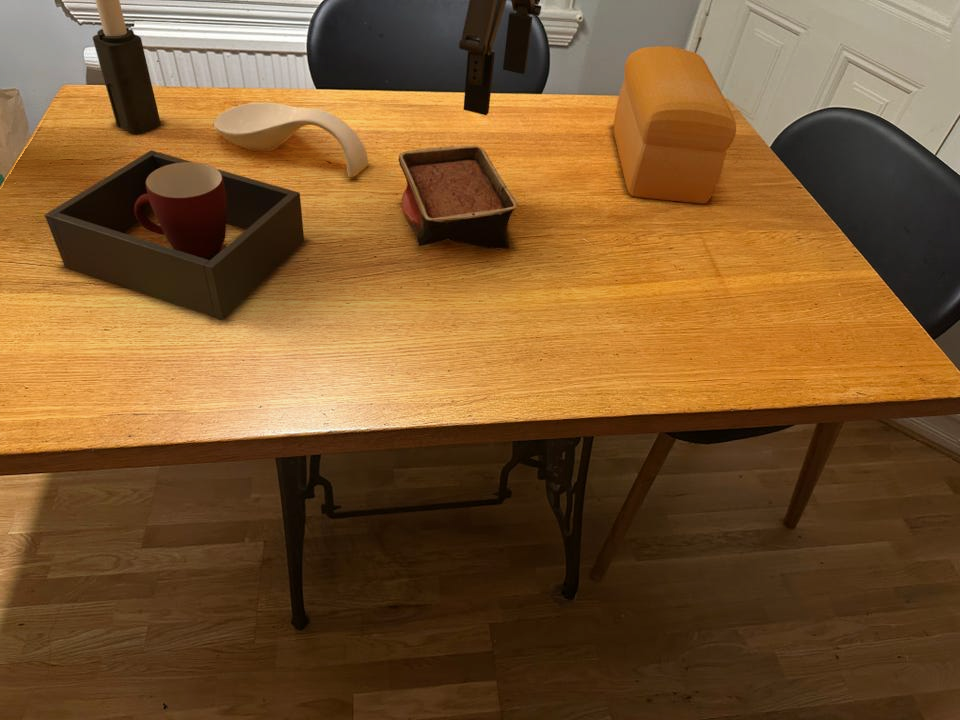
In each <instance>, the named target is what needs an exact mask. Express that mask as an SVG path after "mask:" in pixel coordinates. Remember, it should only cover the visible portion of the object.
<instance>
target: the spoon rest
mask: <svg viewBox="0 0 960 720" xmlns="http://www.w3.org/2000/svg"><path fill="white" fill-rule="evenodd" d="M305 126H315V127H318V128H320V129H323V130H324V131H326V132H327V133H328V134H330V135H332V137H334V138H335V140H336V141H337V143H338V144H339V145H340V147H341V149H342V151H343V155H344V159H345V164H346V172H347V176H348V177H349V178H354V177H355V176H357V175H358V174H359V173H360V172H362V171H363V170H364V169H365V168H367V167H368V165H369V160H368V159H369V158H368V153H367V150H366V148H365V146H364V144H363V142H362V140H361V139H360V137H359V135H358V134H357V133H356V132H355V131H354V129H352V128H351V126H349V125H348V124H347V123H346V122H345V121H343V120H342V119H341V118H339V117H338V116H336V115H335V114H333V113H331V112H329V111H326V110H324V109H318V108H309V107H307V108H306V107H298V106H292V105H288V104H284V103H278V102H265V101H264V102H263V101H262V102H260V101H259V102H249V103H244V104H239V105H235V106H233V107H231V108H228V109H226V110H224V111H222V112H221V113H219V114H217V116H216V117H215V119H214V120H213V127H214V128H215V130H216V131H217V132H218V133H219V135H220V136H221V137H222V138H223V139H225V140H227V141H228V142H230V143H231V144H233V145H236V146H238V147H241V148H244V149H246V150H249V151H251V152H252V151H253V152H269V151H273V150H275V149H278V148H279V147H281V146H282V145H283V144H284V143H285V142H287V141H288V140H289V139H290V138H291V137H292V136H293V135H295V134H296V132H297V131H299V130H300V129H302V128H303V127H305Z"/></svg>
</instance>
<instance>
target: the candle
mask: <svg viewBox="0 0 960 720" xmlns="http://www.w3.org/2000/svg"><path fill="white" fill-rule="evenodd" d="M94 1H95V5H96V9H97V13H98V16H99V19H100V20H99V21H100V24H101V27H102V28H100V29H99V30H98V31H96V33H97V34H95V35H93V36H92V42H93V45H94V48H95V52H96V55H97V59H98V64H99V67H100V70H101V74H102V77H103V81H104V85H105V89H106V91H107V95H108V100H109V103H110V106H111V110H112V113H113V116H114V120H115V124H116V126H117V128H121V129H124V130H126V131H127V132H128V133H129V134H132V135H140V134H143V133H145V132H149V131H151V130H154V129H157V128H160V126H161V125H162V124H161V118H160V115H159V110H158V106H157V101H156V97H155V92H154V88H153V84H152V83H153V82H152V79H151V76H150V71H149V67H148V62H147V57H146V54H145V50H144V45H143V40H142V38H141V36H140V35H137V34H135V31H134V30H133V29H129V27H127V26H126V22H125V17H124V13H123V10H122V6H121V1H120V0H94Z"/></svg>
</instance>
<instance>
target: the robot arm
mask: <svg viewBox="0 0 960 720" xmlns="http://www.w3.org/2000/svg"><path fill="white" fill-rule="evenodd" d="M510 1H511V7H512V11H513V12H509V14H508V21H507V29H506V39H505V47H504V54H503V55H504V56H503V64H502V70H504V71H507V72H512V73H516V74H520V75H524V74H526V68H527V61H528V56H529V47H530V39H531V33H532V25H533V19H534V17H533V16H535V17H536V16H537V17H540V15H541V11H542V5H539V3H540V2H541V0H510ZM506 4H507V0H469V1H468V5H467V11H466V15H465V20H464V25H463V29H462V36H461V39H460V40H459V44H458V47H459V50H461V51H465V52H467V57H466V59H467V60H466V73H465V83H464V84H465V88H464V98H463V111H467V112H471V113H474V114H479V115H483V116H488V114H489V112H490V105H491V104H490V103H491V94H492V85H493V84H492V83H493V76H494V75H493V74H494V72H493V71H494V67H495V66H494V65H495V55H496V53H495V52H494V51H493V47H494V44H495V41H496V37H497V34H498V30H499V27H500V24H501V20H502V17H503V13H504V11H505V7H506ZM531 15H532V16H531Z"/></svg>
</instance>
